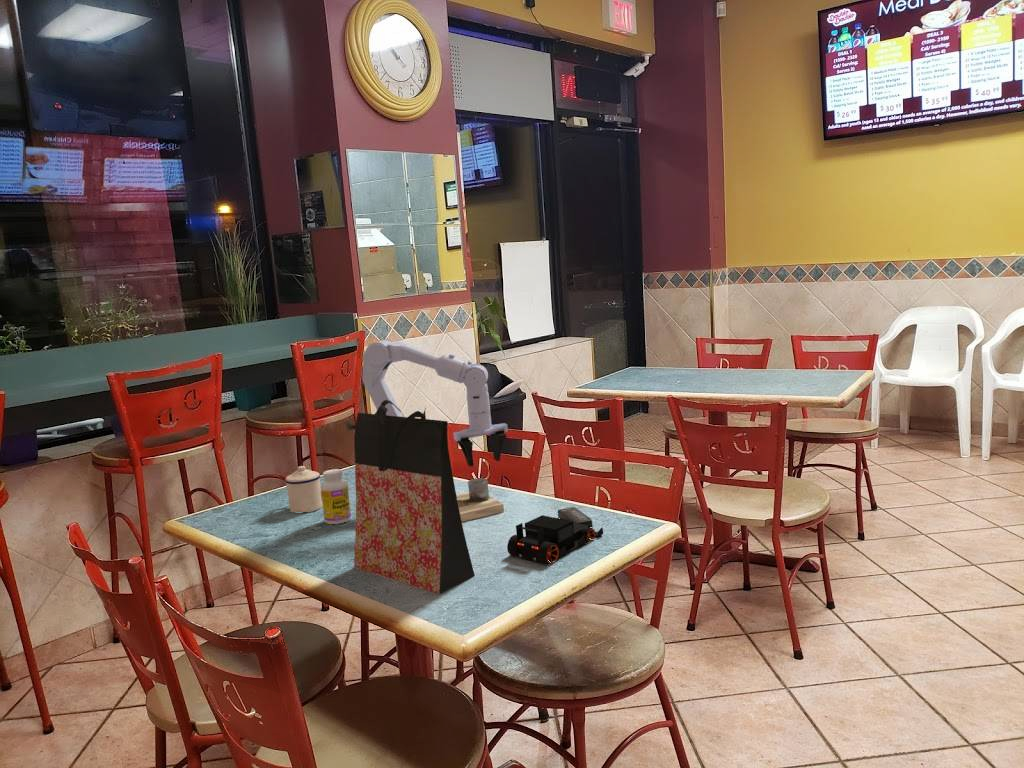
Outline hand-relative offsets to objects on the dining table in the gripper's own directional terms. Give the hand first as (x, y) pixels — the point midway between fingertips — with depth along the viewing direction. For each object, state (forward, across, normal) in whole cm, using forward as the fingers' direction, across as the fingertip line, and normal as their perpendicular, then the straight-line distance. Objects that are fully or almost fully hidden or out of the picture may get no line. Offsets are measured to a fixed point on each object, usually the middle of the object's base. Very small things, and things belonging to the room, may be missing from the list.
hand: (483, 462), depth 198 cm
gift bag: (+10, -33, -32) cm, 47 cm away
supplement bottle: (+10, -37, +10) cm, 40 cm away
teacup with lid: (+10, -42, +28) cm, 51 cm away
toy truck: (+11, -2, -40) cm, 42 cm away
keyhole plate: (+10, -8, -4) cm, 14 cm away
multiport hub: (+10, +8, -30) cm, 33 cm away
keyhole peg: (+10, -4, -4) cm, 11 cm away
